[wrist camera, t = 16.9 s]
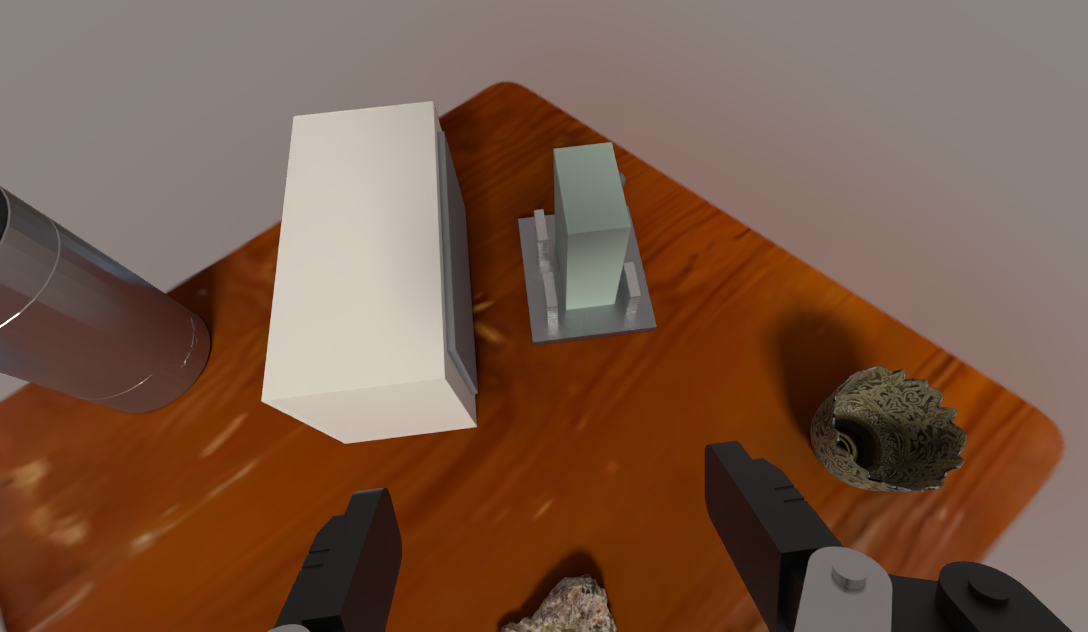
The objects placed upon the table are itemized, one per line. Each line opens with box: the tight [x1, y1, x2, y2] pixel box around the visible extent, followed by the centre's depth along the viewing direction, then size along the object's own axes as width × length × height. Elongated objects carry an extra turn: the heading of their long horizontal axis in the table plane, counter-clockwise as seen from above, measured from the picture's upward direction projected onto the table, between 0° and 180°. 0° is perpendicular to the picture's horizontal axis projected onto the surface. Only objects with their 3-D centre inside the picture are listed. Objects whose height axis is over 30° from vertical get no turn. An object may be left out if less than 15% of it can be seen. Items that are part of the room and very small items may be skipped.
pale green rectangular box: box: [554, 142, 631, 310], centre depth 39 cm, size 5×7×11 cm
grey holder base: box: [518, 206, 657, 346], centre depth 43 cm, size 10×12×4 cm
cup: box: [810, 366, 967, 492], centre depth 34 cm, size 8×7×8 cm
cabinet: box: [262, 101, 478, 444], centre depth 38 cm, size 10×21×12 cm, turn 7°
